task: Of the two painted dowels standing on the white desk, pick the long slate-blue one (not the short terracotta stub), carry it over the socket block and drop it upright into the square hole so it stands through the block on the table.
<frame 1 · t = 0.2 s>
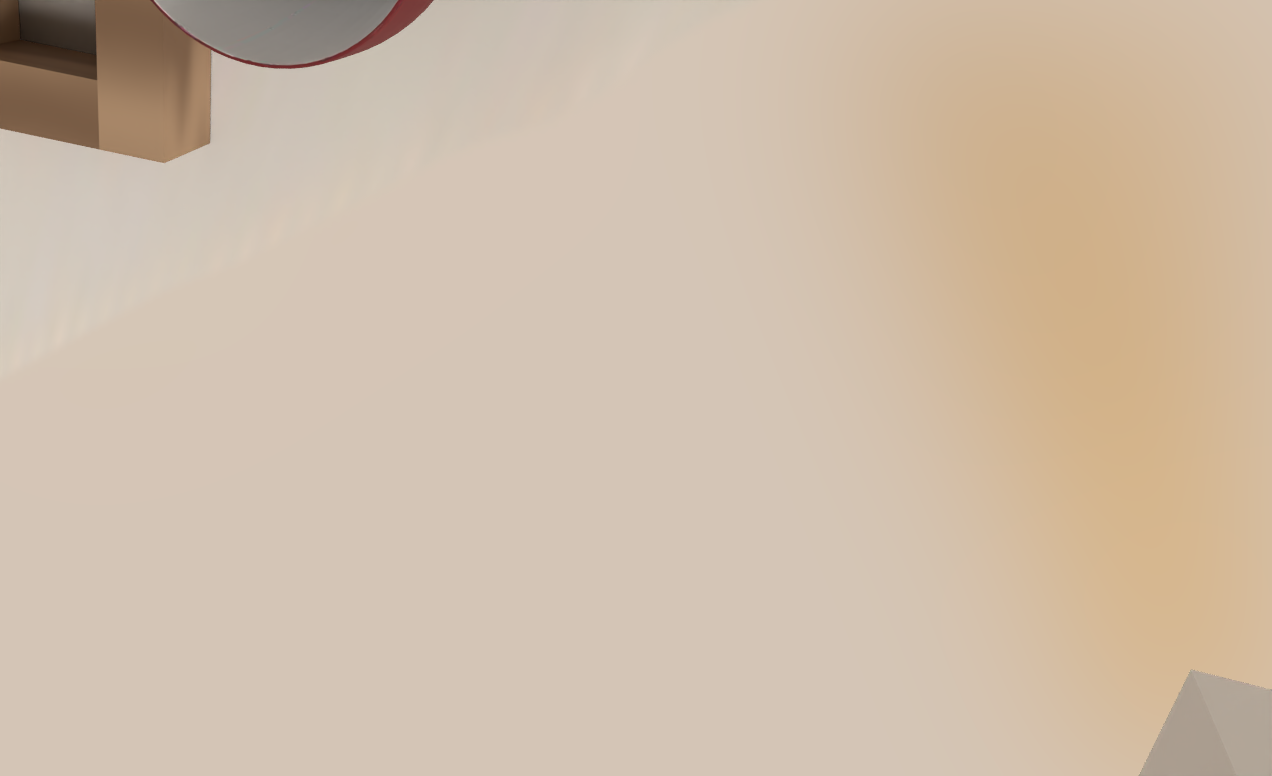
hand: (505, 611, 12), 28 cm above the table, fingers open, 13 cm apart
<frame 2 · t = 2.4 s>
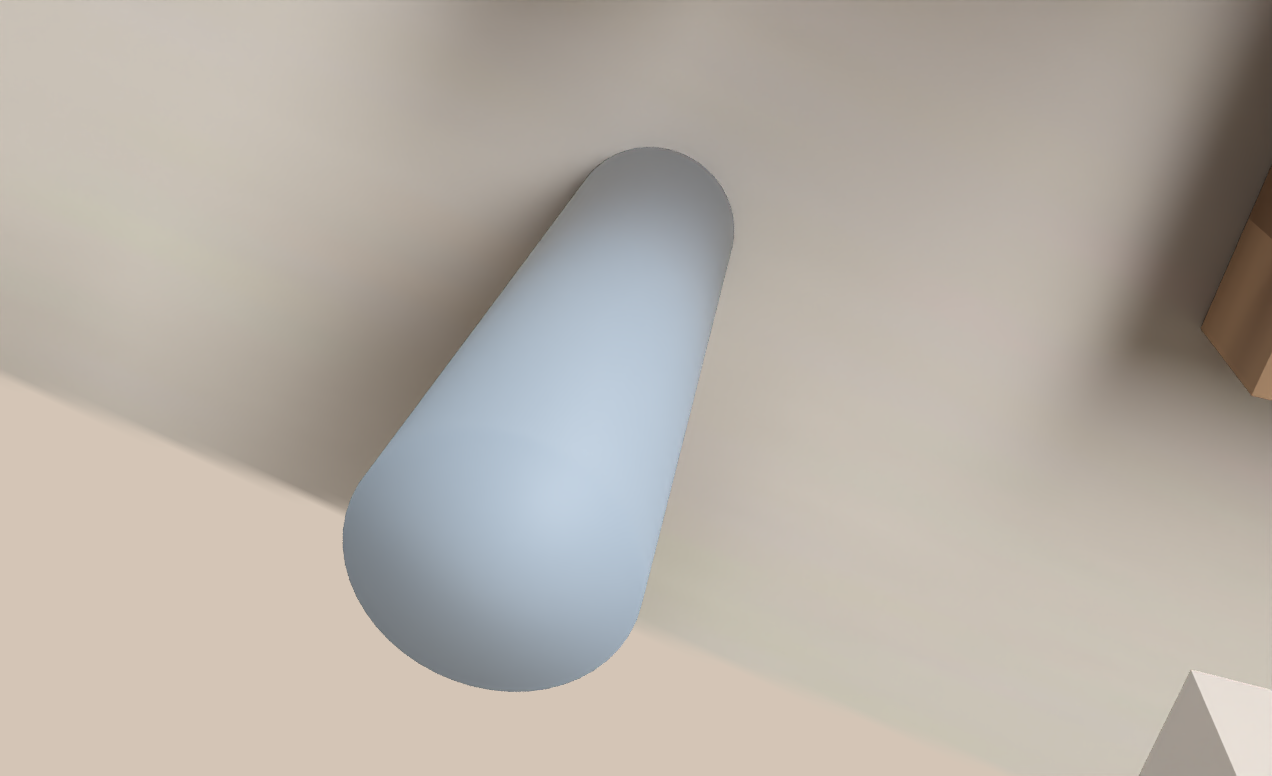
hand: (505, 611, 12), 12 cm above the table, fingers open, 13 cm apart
long peg: (651, 228, 23), on the table
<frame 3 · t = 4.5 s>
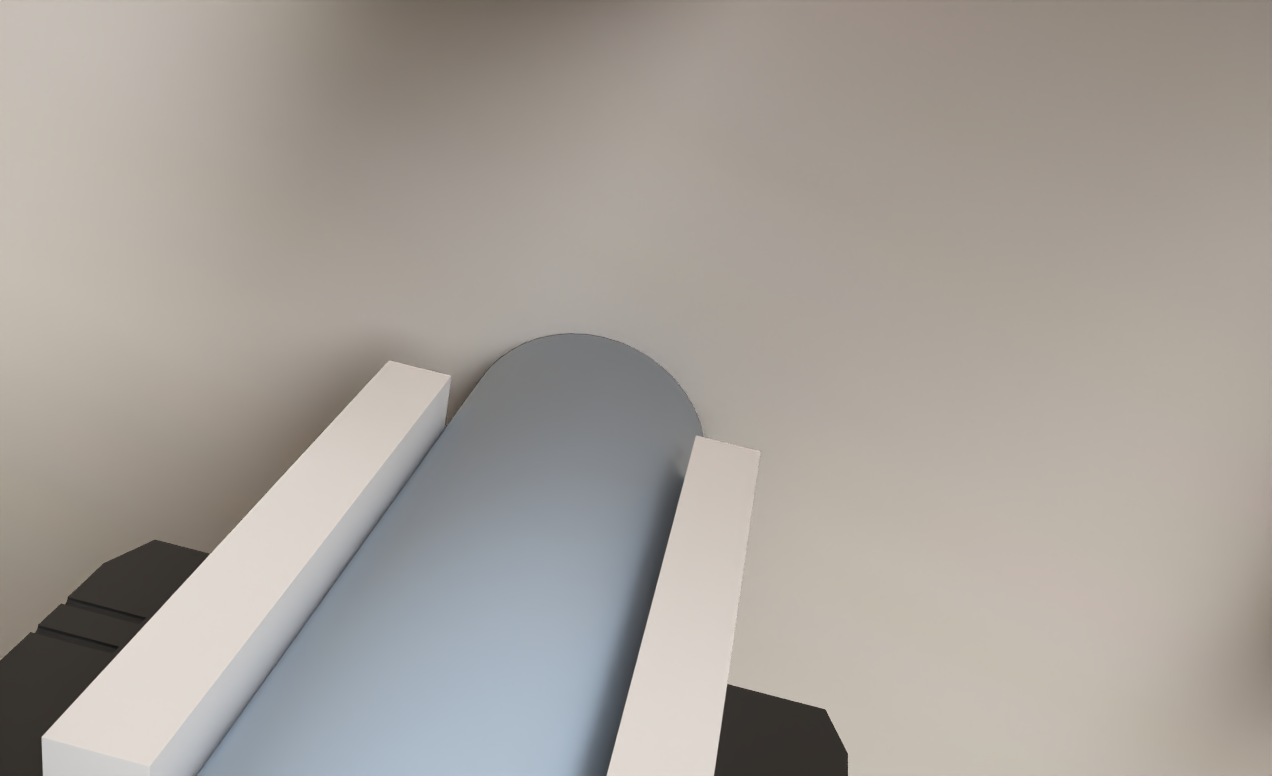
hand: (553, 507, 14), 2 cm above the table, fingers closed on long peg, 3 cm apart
long peg: (582, 448, 15), on the table, touching gripper
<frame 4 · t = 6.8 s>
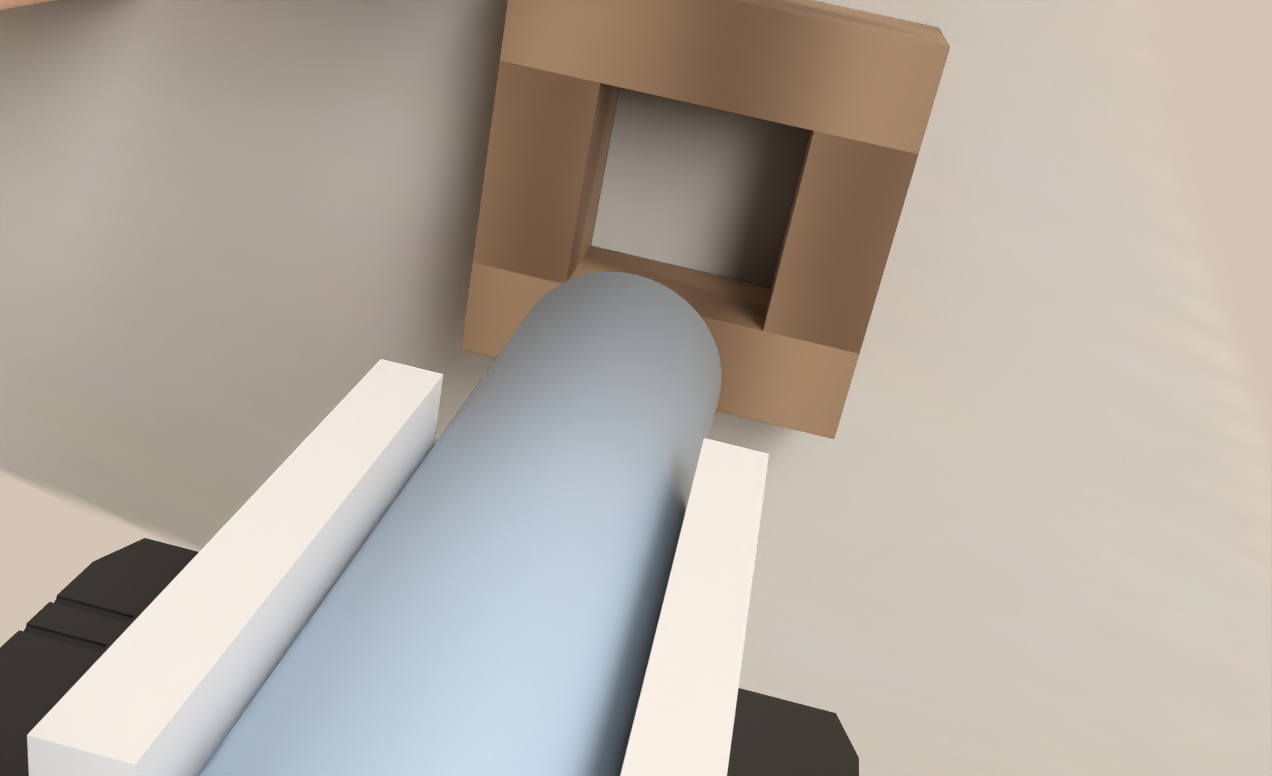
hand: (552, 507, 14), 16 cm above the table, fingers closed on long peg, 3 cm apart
long peg: (616, 372, 18), point 12 cm above the table, touching gripper
socket block: (699, 177, 28), on the table
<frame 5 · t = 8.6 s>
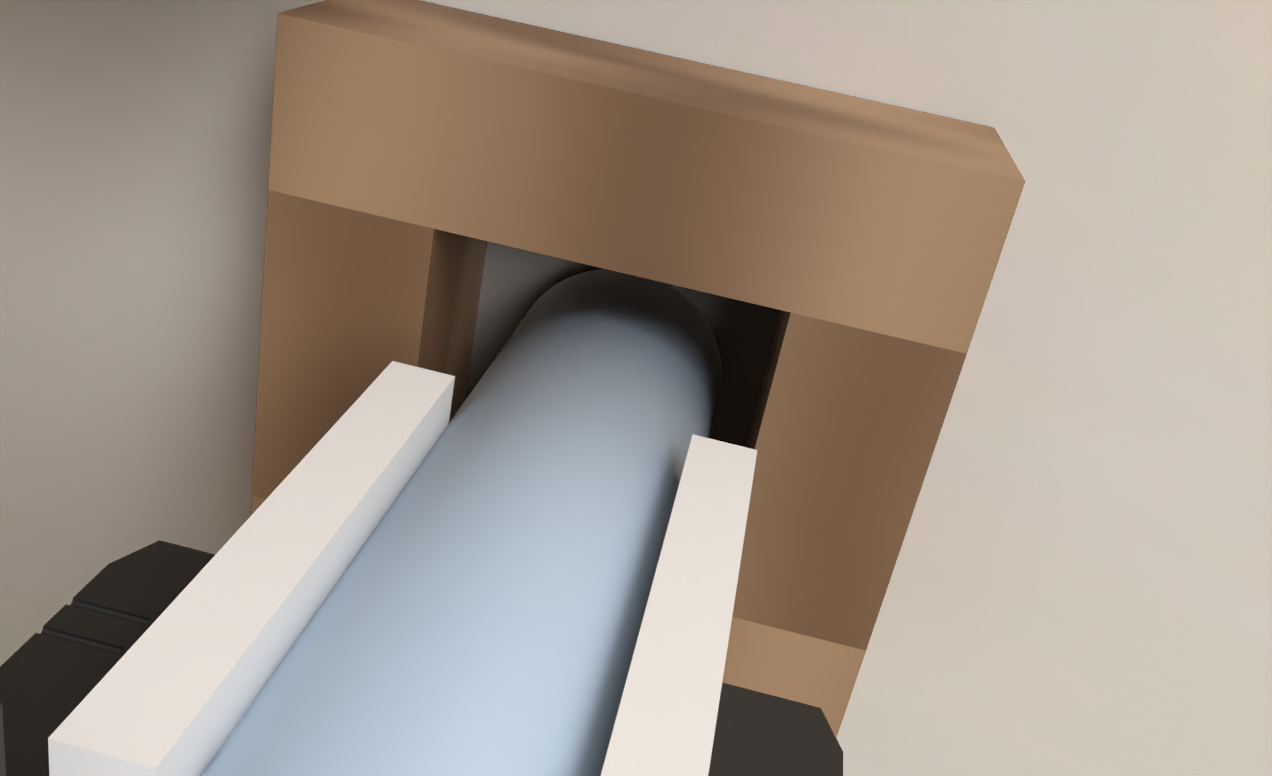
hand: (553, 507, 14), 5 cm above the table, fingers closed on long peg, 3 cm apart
long peg: (616, 369, 18), point 1 cm above the table, touching gripper
socket block: (618, 346, 18), on the table
when the fingers open (4 cm above the table, at t = 9.4 s): long peg stays where it is, resting in socket block.
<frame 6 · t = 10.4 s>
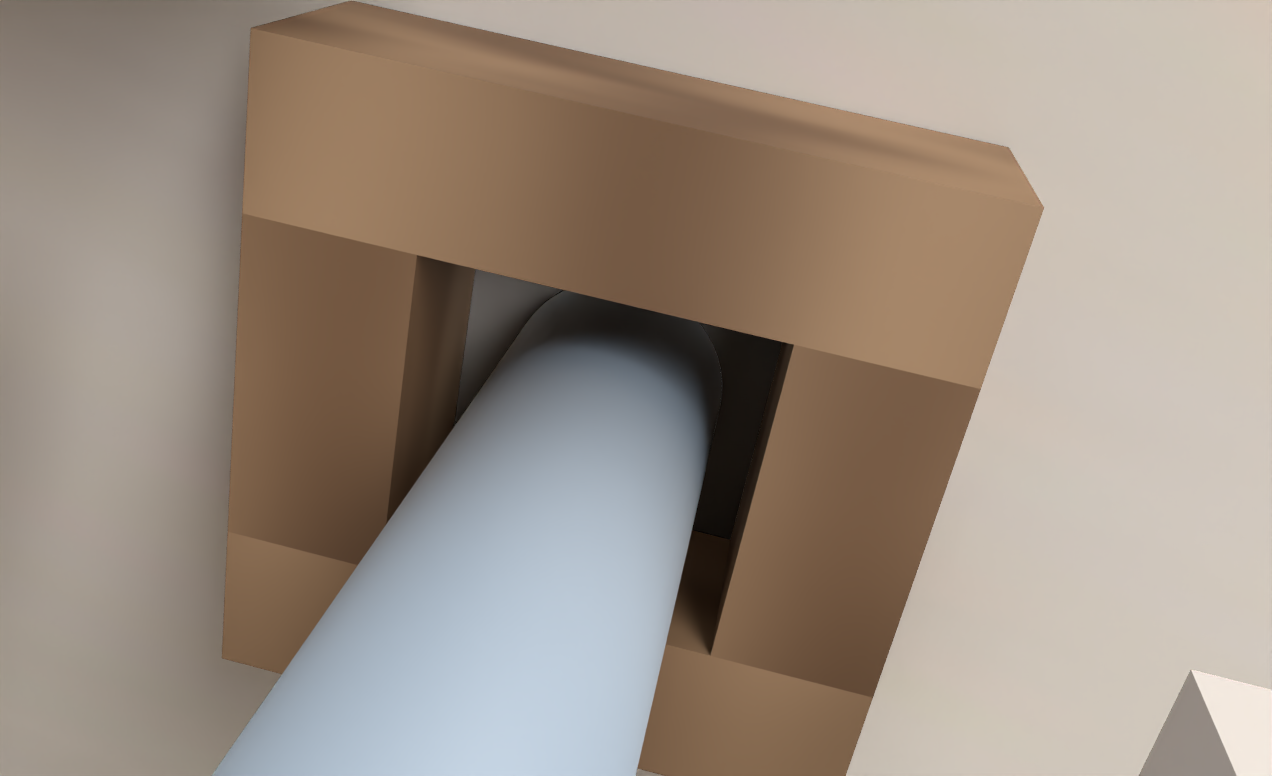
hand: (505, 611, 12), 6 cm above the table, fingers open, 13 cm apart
long peg: (615, 382, 18), resting in socket block
socket block: (613, 374, 18), on the table
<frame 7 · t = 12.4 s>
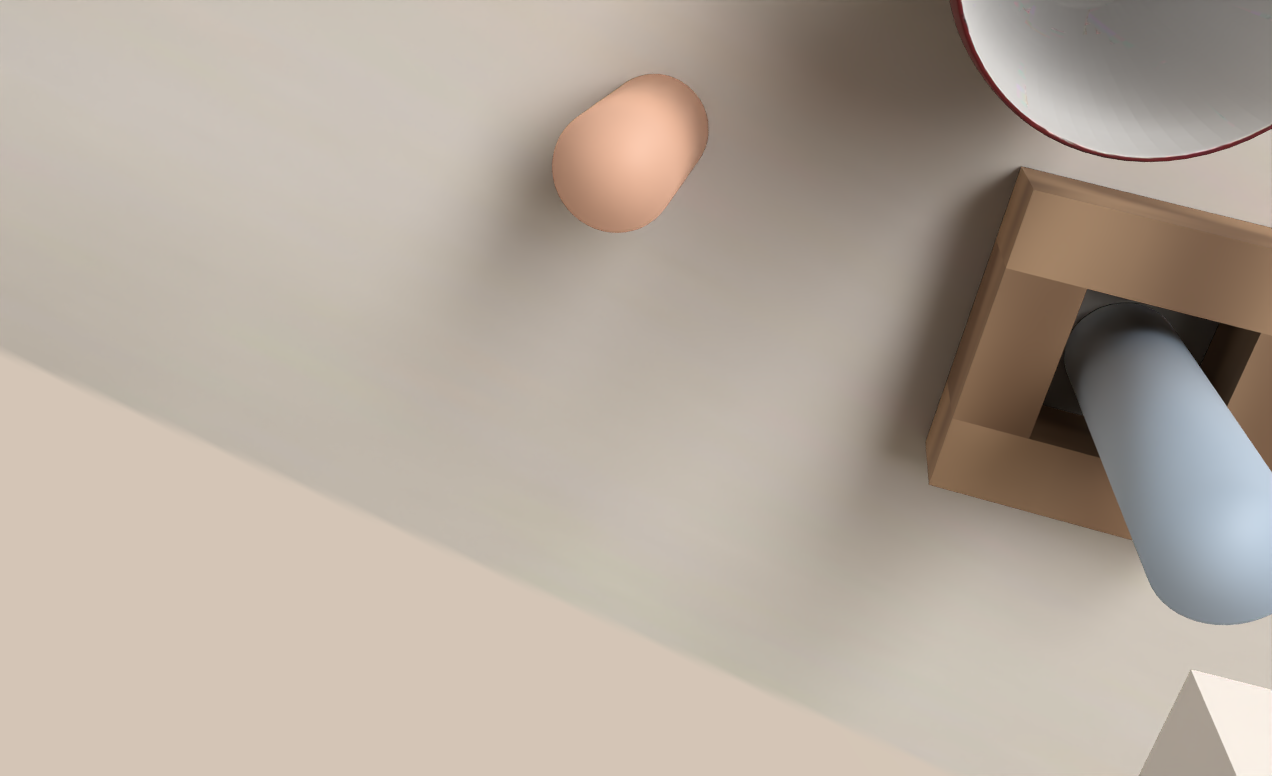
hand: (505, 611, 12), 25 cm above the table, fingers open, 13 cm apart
long peg: (1120, 354, 35), resting in socket block
short peg: (655, 128, 35), on the table
socket block: (1120, 350, 35), on the table
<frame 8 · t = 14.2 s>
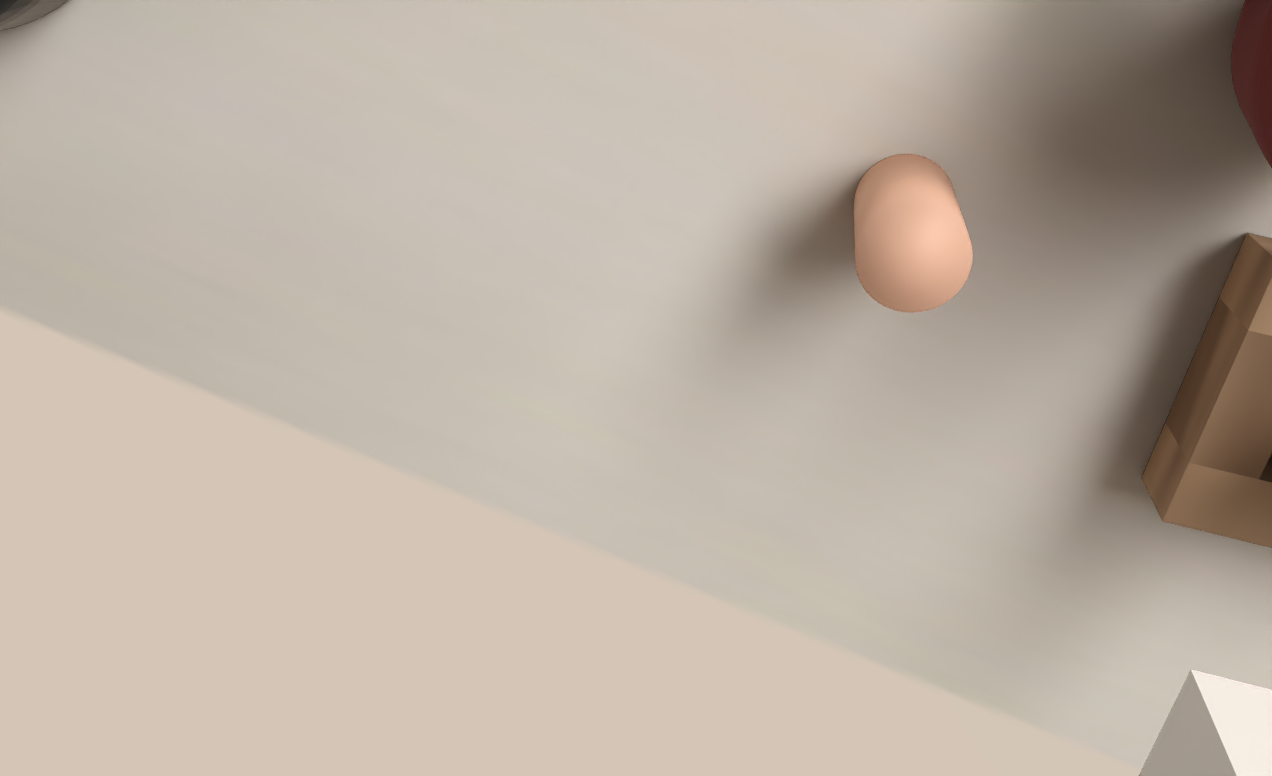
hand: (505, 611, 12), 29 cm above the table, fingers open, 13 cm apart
short peg: (903, 202, 38), on the table
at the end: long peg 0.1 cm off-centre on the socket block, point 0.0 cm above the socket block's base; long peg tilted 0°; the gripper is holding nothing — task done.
